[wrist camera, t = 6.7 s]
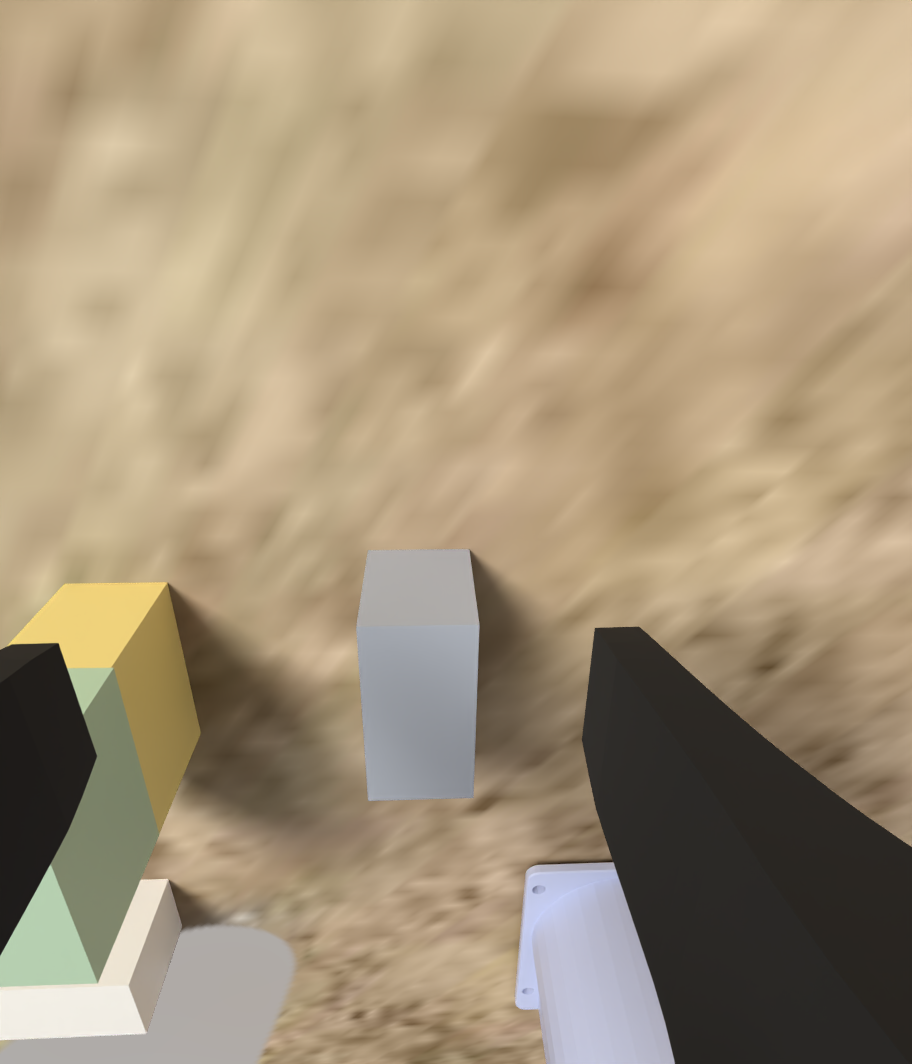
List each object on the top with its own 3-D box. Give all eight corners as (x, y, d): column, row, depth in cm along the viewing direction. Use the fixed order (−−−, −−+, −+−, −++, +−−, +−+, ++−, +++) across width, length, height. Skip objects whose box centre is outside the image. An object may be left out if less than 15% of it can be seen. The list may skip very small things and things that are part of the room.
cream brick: (169, 876, 26) (128, 985, 22) (182, 924, 27) (146, 1034, 24) (11, 881, 25) (-56, 992, 22) (33, 929, 27) (-27, 1041, 23)
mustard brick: (201, 733, 22) (159, 834, 19) (110, 735, 22) (51, 837, 19) (167, 582, 20) (111, 667, 16) (65, 583, 20) (-16, 669, 16)
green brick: (159, 834, 19) (97, 983, 15) (51, 837, 19) (-37, 988, 15) (113, 667, 16) (26, 802, 13) (-14, 669, 16) (-139, 805, 12)
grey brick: (465, 702, 22) (473, 797, 19) (376, 704, 22) (368, 800, 19) (469, 547, 20) (479, 624, 16) (368, 548, 20) (356, 626, 16)
